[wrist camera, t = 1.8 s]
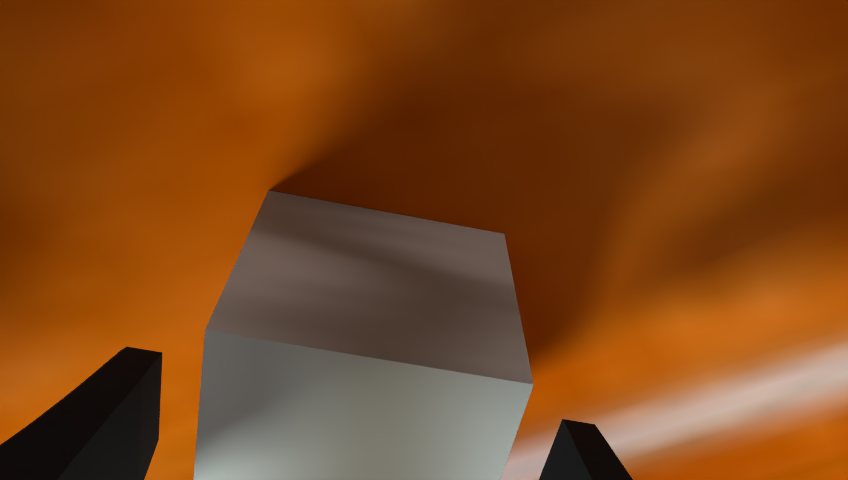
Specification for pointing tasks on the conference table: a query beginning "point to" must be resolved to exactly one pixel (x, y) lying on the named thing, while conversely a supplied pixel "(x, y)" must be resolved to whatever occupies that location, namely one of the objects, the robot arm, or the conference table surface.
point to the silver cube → (362, 350)
